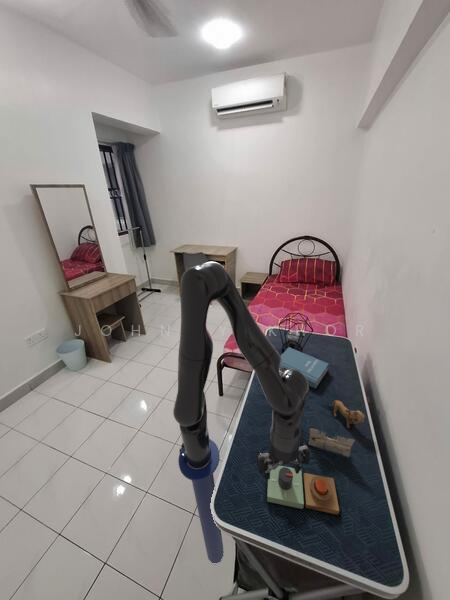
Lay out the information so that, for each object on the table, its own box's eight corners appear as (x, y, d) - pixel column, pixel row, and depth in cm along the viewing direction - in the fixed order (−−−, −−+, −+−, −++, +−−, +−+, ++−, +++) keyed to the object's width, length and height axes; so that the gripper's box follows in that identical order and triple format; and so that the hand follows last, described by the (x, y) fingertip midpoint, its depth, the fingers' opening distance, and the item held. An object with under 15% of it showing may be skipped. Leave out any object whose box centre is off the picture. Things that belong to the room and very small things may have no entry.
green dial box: (267, 501, 76) (267, 496, 75) (268, 468, 85) (268, 463, 84) (303, 509, 74) (304, 504, 73) (300, 474, 83) (301, 469, 81)
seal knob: (278, 488, 77) (278, 480, 74) (278, 473, 80) (278, 465, 78) (292, 491, 76) (293, 483, 74) (291, 476, 80) (292, 468, 77)
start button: (315, 493, 74) (316, 490, 74) (314, 481, 78) (314, 477, 77) (327, 496, 74) (328, 493, 73) (326, 483, 77) (326, 480, 76)
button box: (305, 507, 74) (306, 501, 72) (303, 476, 82) (304, 469, 80) (338, 514, 72) (340, 508, 70) (332, 481, 80) (334, 475, 78)
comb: (307, 447, 91) (309, 430, 86) (307, 441, 93) (310, 424, 88) (350, 460, 86) (355, 443, 81) (349, 454, 88) (354, 436, 83)
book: (327, 371, 126) (328, 363, 123) (314, 389, 115) (316, 382, 113) (288, 354, 139) (288, 347, 137) (273, 369, 129) (274, 362, 127)
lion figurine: (363, 427, 96) (368, 412, 92) (356, 435, 94) (361, 420, 90) (330, 403, 107) (333, 389, 103) (323, 410, 105) (326, 395, 101)
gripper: (304, 419, 66) (299, 455, 73) (254, 428, 64) (254, 464, 71) (317, 446, 59) (311, 482, 66) (262, 457, 58) (261, 492, 65)
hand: (281, 473), depth 69 cm, fingers open, 8 cm apart
